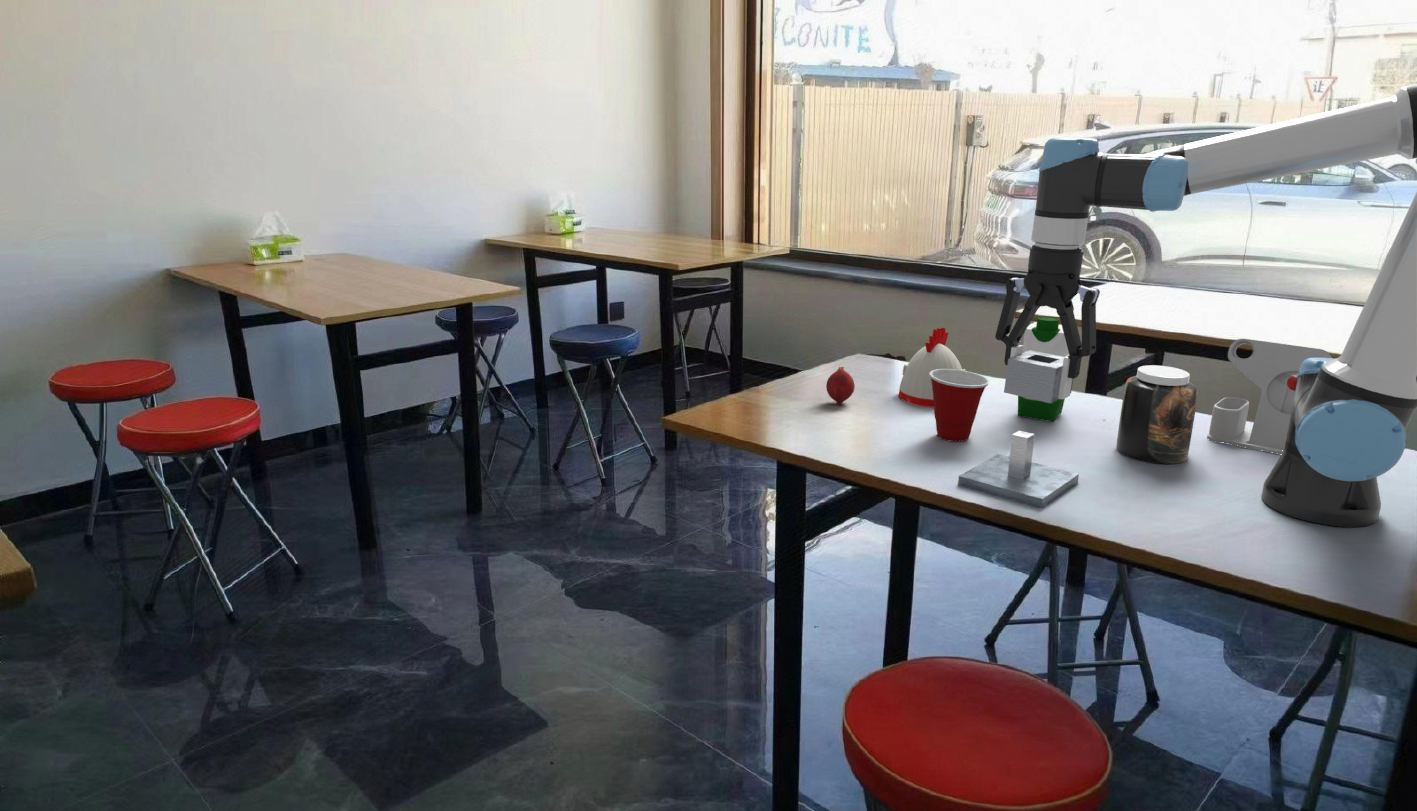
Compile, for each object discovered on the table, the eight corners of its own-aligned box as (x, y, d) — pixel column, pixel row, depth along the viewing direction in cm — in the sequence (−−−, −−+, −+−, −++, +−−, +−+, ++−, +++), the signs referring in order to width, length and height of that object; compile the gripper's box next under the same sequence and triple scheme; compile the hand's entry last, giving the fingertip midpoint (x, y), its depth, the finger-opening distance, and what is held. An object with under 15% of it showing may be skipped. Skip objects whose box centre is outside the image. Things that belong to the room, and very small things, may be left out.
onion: (855, 407, 190) (857, 370, 187) (827, 407, 190) (828, 370, 187) (851, 399, 195) (853, 362, 193) (824, 399, 195) (825, 362, 193)
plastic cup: (986, 448, 166) (992, 384, 163) (925, 444, 168) (929, 381, 165) (982, 429, 176) (987, 368, 173) (924, 425, 178) (928, 365, 175)
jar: (1105, 453, 164) (1116, 371, 159) (1129, 437, 172) (1140, 359, 168) (1175, 469, 156) (1189, 384, 152) (1197, 452, 164) (1210, 371, 160)
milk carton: (1011, 416, 184) (1021, 318, 178) (1023, 405, 191) (1033, 310, 185) (1057, 424, 179) (1069, 323, 173) (1067, 412, 187) (1079, 315, 181)
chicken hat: (977, 397, 197) (983, 328, 193) (946, 411, 187) (952, 339, 183) (919, 385, 206) (923, 319, 202) (886, 398, 196) (891, 329, 192)
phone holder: (1202, 439, 171) (1218, 344, 166) (1218, 426, 178) (1234, 335, 173) (1311, 461, 160) (1331, 361, 155) (1323, 447, 167) (1343, 350, 162)
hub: (1071, 393, 145) (1076, 359, 143) (1051, 403, 139) (1056, 368, 138) (1024, 382, 150) (1029, 350, 148) (1003, 392, 144) (1008, 358, 143)
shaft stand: (1077, 482, 151) (1084, 433, 148) (1041, 508, 141) (1047, 455, 138) (997, 461, 160) (1002, 415, 157) (958, 484, 150) (962, 435, 147)
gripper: (1137, 250, 134) (1113, 400, 141) (1003, 236, 147) (987, 373, 154) (1118, 255, 128) (1094, 411, 135) (981, 240, 141) (966, 382, 148)
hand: (1037, 391), depth 145 cm, fingers closed on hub, 8 cm apart
